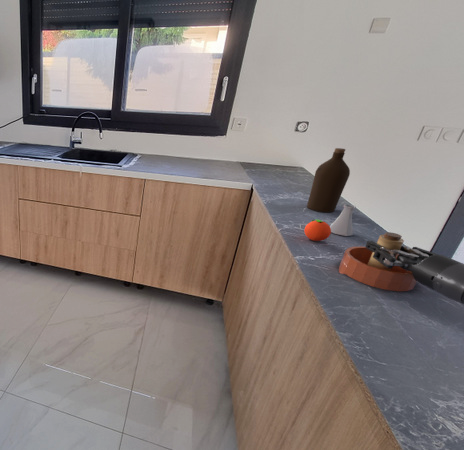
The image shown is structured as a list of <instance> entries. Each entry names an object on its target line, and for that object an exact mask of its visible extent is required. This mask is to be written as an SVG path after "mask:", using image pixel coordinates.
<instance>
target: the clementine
mask: <svg viewBox="0 0 464 450" xmlns="http://www.w3.org/2000/svg"><path fill="white" fill-rule="evenodd" d="M303 230H304V235H305V236H306V238H308V239H309V240H310V241H313V242H322V241H325V240H327V239H328V238H329V237H330V236H331V234H332V232H331V228H330V224H328V223H327V222H326V221H323V220H321V219H312V220H311V221H310V222H308V223H307V224H306V225H305V227H304V229H303Z"/></svg>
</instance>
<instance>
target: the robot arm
mask: <svg viewBox="0 0 464 450" xmlns="http://www.w3.org/2000/svg"><path fill="white" fill-rule="evenodd" d="M364 247H365V248H366V249H368V250H370V251H372V252H374V255H373V258H374V259H376V260H377V261H378V262H380V263H381V264H382V265H384V266H385V267H387V268H390V269H392V268H393V266H399V267H401V268H402V269H405V270H407V271H411V272H412V274H413V277H414V279H415V280H416V281H417V282H416V283H418V284H421V285H423V286H425V287H426V288H428V289H430V290H432V291H434V292H436V293H438V294H440V295H442V296H444V297H446V298H448V299H450V300H452V301H454V302H457V303H459V304H461V305H464V263H463V262H460V261H458V260H455V259H453V258H450V257H448V256H446V255H443V254H439V253H437V252H432V251H430V250H426V249H424V248H421V247H418V246H412V247H410V246H408V245H402V246H401V249H400V250H397V249H395V250H391V249H388V248H386V247H384V246H381V245H379V244H377V242H375V241H373V240H368V241H367V242H366V244H365V246H364ZM387 252H389V253H390V254H388V253H387ZM397 254H399V255H398V257H397V259H396V258H395V257H396V255H397Z"/></svg>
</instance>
